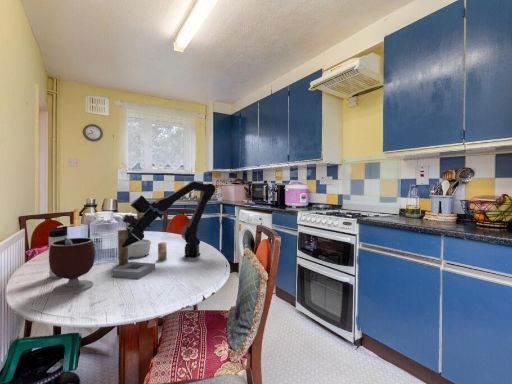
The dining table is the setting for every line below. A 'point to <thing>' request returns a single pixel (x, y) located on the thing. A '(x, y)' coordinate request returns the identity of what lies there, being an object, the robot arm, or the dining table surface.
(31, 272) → the dining table surface
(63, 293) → the mate gourd
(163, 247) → the short beech pin
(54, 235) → the travel mug
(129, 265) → the socket board
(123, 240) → the walnut pin
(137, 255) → the ramekin
